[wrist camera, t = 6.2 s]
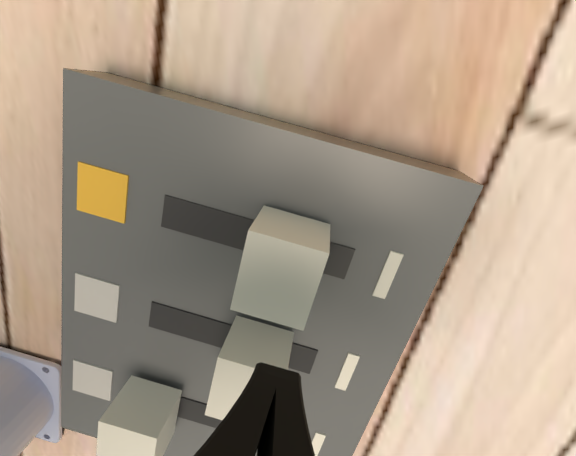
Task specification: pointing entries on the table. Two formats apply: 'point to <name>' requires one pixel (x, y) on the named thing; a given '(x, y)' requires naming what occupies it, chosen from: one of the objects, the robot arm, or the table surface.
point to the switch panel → (234, 252)
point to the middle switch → (245, 361)
